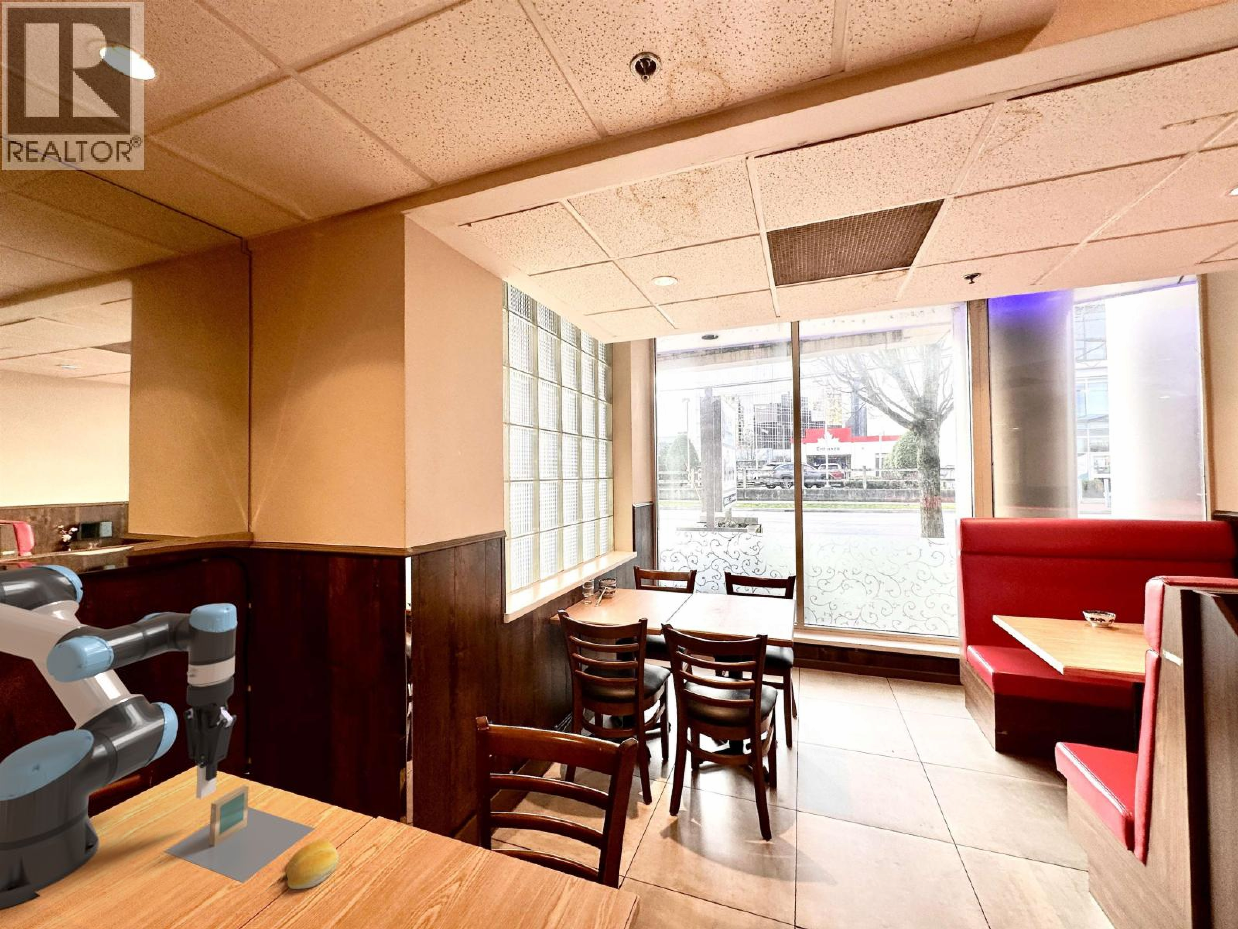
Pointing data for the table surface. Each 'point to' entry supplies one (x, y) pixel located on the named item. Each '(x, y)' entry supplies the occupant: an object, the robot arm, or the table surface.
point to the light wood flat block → (228, 815)
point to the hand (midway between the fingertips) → (206, 794)
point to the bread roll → (311, 864)
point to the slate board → (242, 845)
